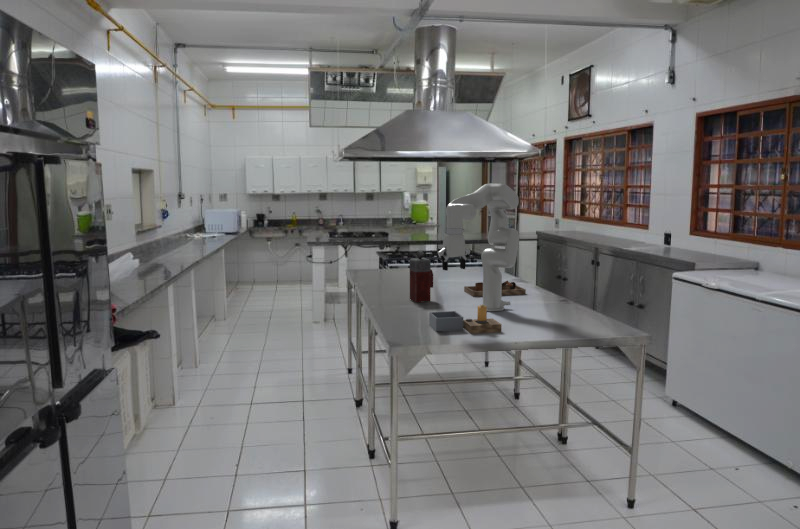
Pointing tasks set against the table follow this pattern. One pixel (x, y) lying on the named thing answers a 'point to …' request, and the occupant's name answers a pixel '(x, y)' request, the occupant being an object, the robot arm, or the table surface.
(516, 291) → the serving frame
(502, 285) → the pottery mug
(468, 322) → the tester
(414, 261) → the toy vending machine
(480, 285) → the cup and saucer
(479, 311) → the cylinder
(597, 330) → the table surface
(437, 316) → the bin
